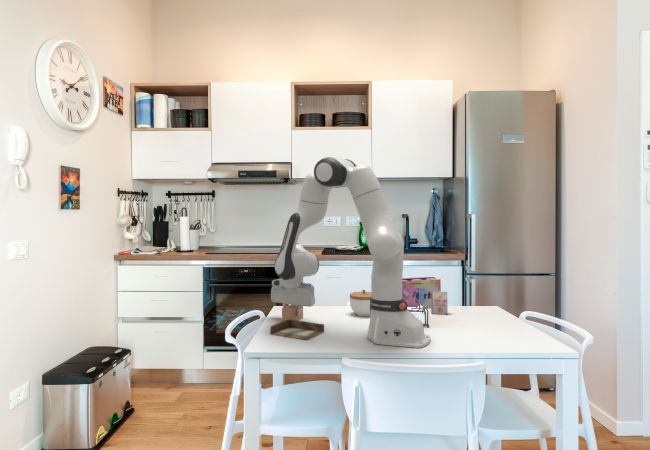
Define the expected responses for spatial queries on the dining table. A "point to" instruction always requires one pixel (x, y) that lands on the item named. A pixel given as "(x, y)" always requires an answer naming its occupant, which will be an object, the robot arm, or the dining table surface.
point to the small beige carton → (439, 303)
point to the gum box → (419, 290)
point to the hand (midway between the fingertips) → (292, 314)
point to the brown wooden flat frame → (297, 329)
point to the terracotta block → (291, 313)
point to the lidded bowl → (360, 303)
